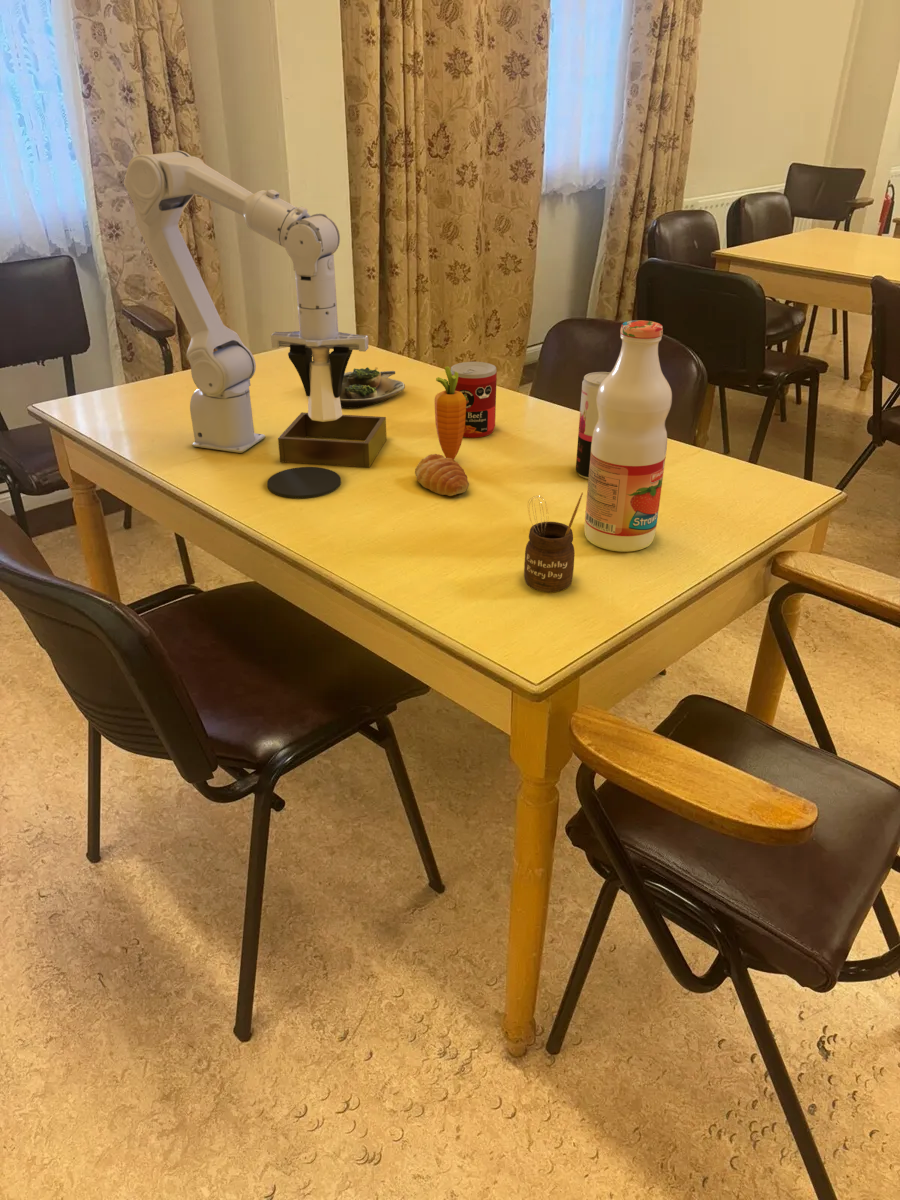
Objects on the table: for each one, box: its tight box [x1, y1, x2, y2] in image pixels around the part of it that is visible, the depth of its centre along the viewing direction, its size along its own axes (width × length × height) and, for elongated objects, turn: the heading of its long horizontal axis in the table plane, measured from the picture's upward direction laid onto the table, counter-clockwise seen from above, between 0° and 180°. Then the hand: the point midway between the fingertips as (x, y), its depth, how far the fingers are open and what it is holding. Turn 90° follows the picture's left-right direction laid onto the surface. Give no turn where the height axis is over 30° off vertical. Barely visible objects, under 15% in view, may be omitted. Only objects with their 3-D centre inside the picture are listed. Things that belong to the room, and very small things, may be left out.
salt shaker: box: [307, 346, 343, 422], centre depth 138 cm, size 5×5×11 cm
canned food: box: [450, 361, 498, 439], centre depth 152 cm, size 8×8×11 cm
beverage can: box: [575, 371, 611, 480], centre depth 135 cm, size 7×6×15 cm
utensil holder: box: [523, 492, 584, 593], centre depth 106 cm, size 6×6×12 cm
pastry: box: [414, 453, 470, 497], centre depth 133 cm, size 9×7×4 cm
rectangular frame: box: [277, 412, 388, 469], centre depth 146 cm, size 15×13×4 cm
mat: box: [266, 466, 342, 499], centre depth 135 cm, size 11×11×1 cm
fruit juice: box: [583, 319, 673, 553], centre depth 113 cm, size 9×9×28 cm
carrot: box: [434, 365, 466, 461], centre depth 139 cm, size 5×5×15 cm
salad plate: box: [339, 367, 406, 409], centre depth 173 cm, size 19×18×5 cm
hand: (323, 395), depth 139 cm, fingers closed on salt shaker, 4 cm apart
